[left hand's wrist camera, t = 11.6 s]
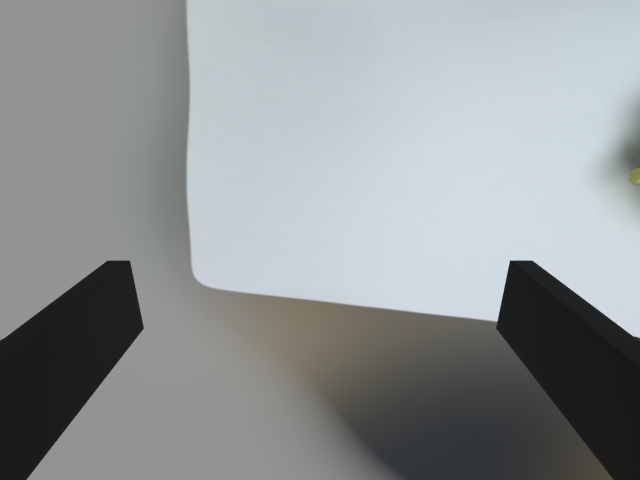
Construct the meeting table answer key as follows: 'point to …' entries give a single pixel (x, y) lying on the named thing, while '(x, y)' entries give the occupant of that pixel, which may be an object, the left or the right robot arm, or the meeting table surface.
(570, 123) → the meeting table surface
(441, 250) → the meeting table surface
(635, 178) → the toy
